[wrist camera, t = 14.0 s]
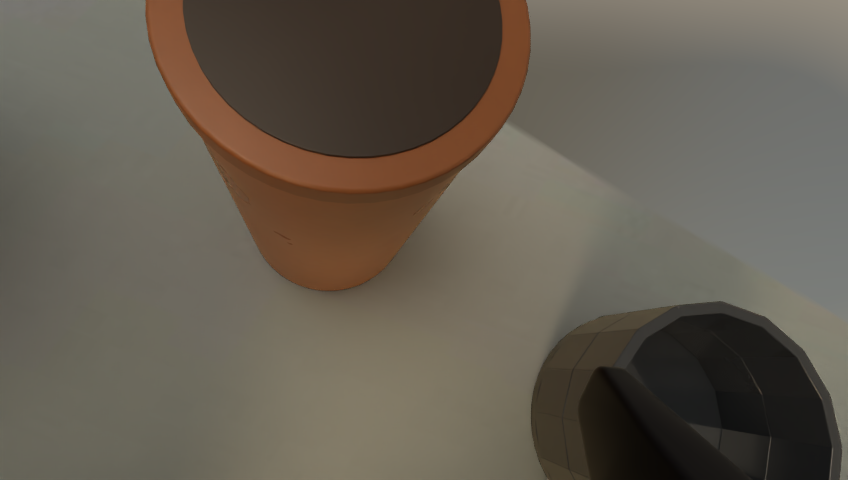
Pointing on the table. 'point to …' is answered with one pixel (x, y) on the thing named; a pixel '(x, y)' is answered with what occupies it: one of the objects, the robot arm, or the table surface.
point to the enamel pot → (697, 389)
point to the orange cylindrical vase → (340, 114)
